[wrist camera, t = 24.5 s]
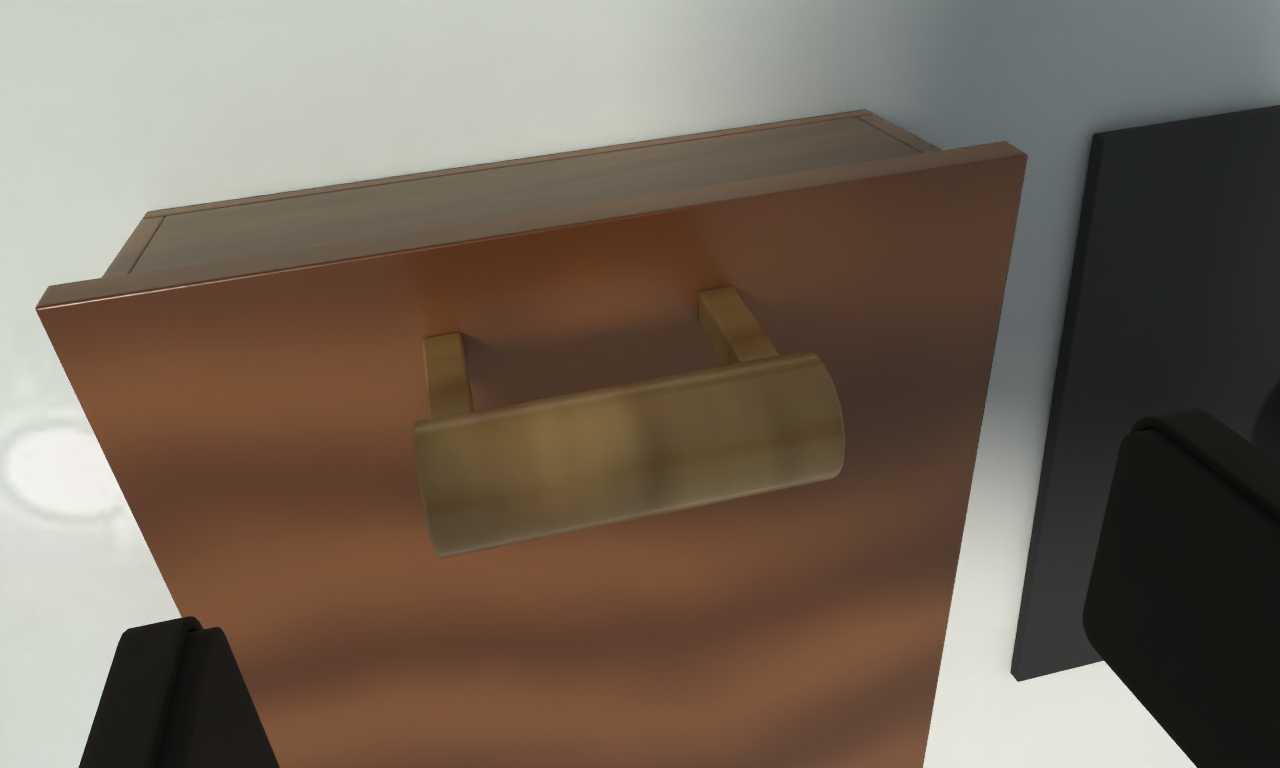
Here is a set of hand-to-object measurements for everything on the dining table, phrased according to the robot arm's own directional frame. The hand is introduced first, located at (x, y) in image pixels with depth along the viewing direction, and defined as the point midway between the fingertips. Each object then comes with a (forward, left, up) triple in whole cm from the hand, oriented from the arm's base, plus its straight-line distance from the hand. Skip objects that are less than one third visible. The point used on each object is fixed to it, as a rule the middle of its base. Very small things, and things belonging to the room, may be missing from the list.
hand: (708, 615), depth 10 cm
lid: (+8, 0, -10) cm, 13 cm away
